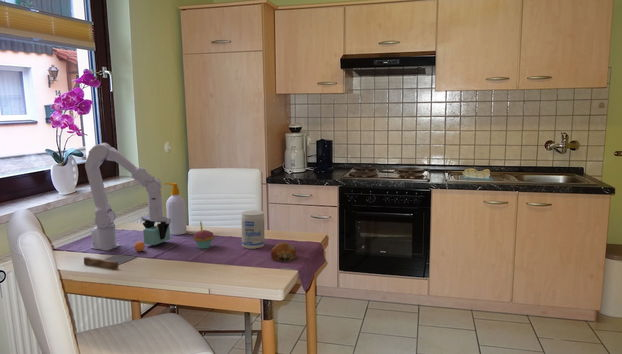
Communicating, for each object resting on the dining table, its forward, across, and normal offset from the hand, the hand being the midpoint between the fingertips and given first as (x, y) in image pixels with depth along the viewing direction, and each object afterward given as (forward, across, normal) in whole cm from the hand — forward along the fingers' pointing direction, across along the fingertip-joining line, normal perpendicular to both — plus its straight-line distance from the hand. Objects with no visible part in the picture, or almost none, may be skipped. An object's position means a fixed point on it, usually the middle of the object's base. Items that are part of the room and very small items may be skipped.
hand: (157, 238), depth 204 cm
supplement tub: (+3, -40, -14) cm, 42 cm away
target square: (+3, 0, +22) cm, 23 cm away
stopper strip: (+3, 0, +30) cm, 31 cm away
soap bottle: (+3, +5, -19) cm, 19 cm away
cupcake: (+3, -21, -5) cm, 22 cm away
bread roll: (+3, -59, -4) cm, 59 cm away
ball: (+1, 0, +10) cm, 10 cm away
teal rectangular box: (+2, 0, 0) cm, 2 cm away
